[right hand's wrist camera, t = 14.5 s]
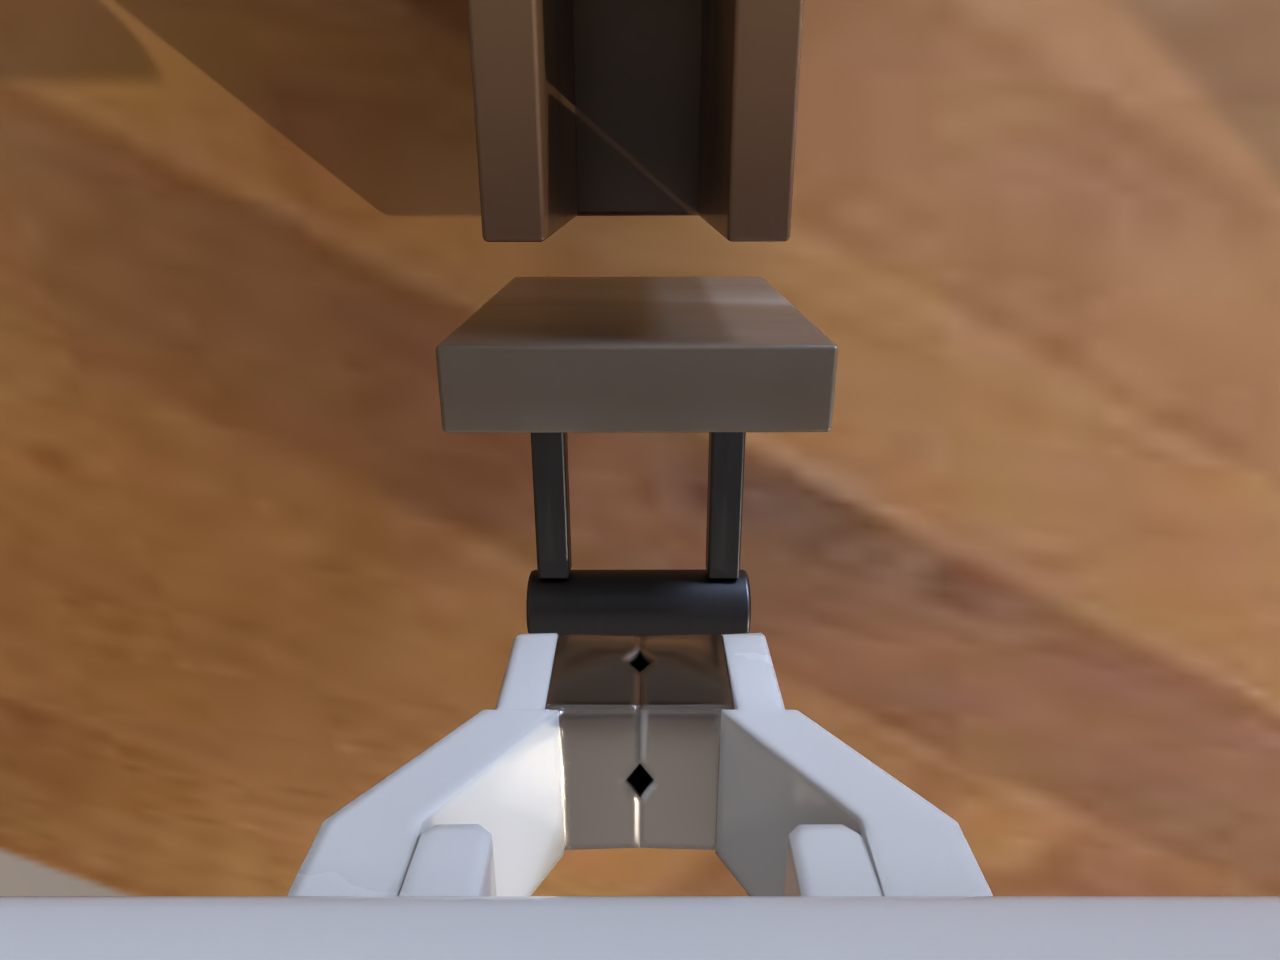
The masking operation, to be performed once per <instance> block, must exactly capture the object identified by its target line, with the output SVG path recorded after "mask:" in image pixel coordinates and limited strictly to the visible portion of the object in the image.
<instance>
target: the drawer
mask: <svg viewBox="0 0 1280 960" xmlns="http://www.w3.org/2000/svg"><path fill="white" fill-rule="evenodd" d="M803 2H804V0H467V3H468V18H469V34H470V49H471V64H472V80H473V95H474V110H475V126H476V141H477V156H478V171H479V187H480V202H481V217H482V233H483V238H484V240H485V241H487V242H542V241H544V240H545V239H547V238H548V237H549V236H551V235H552V234H553V233H554V232H556V231H557V230H558V229H560V228H561V227H562V226H564V225H565V224H566V223H567V222H569V221H570V220H571V219H573V218H574V217H575V216H638V215H699V216H701V217H702V218H703V219H704V220H705V221H706V222H708V223H709V224H710V225H711V226H712V227H714V228H715V229H716V230H717V231H718V232H719V233H721V234H722V235H723V236H724V237H725V238H726V239H728V240H729V241H787V240H789V237H790V228H791V211H792V193H793V176H794V158H795V141H796V124H797V106H798V89H799V71H800V54H801V37H802V19H803ZM837 354H838V348H837V345H836V344H834V343H833V342H832V341H831V340H830V339H829V338H828V337H827V336H826V335H825V334H824V333H822V332H821V331H820V330H819V329H818V328H817V327H816V326H815V325H814V324H813V323H812V322H810V321H809V320H808V319H807V318H806V317H805V316H804V315H803V314H802V313H801V312H800V311H798V310H797V309H796V308H795V307H794V306H793V305H792V304H791V303H790V302H789V301H788V300H786V299H785V298H784V297H783V296H782V295H781V294H780V293H779V292H778V291H777V290H776V289H774V288H773V287H772V286H771V285H770V284H769V283H768V282H767V281H766V280H765V279H764V278H762V277H516V278H514V279H513V280H511V281H510V282H509V283H508V284H507V285H506V286H505V287H504V288H502V289H501V290H500V291H499V292H498V293H497V294H496V295H494V296H493V297H492V298H491V299H490V300H489V301H488V302H487V303H485V304H484V305H483V306H482V307H481V308H480V309H479V310H478V311H476V312H475V313H474V314H473V315H472V316H471V317H470V318H468V319H467V320H466V321H465V322H464V323H463V324H462V325H461V326H459V327H458V328H457V329H456V330H455V331H454V332H453V333H452V334H450V335H449V336H448V337H447V338H446V339H445V340H444V341H442V342H441V343H440V344H439V345H438V346H437V348H436V360H437V371H438V383H439V394H440V405H441V417H442V428H443V430H444V432H447V433H531V448H532V468H533V488H534V508H535V528H536V548H537V568H538V570H534V571H532V572H531V574H530V576H529V581H528V588H527V608H526V609H527V628H528V633H529V634H534V633H557V634H558V635H560V634H596V635H640V636H663V635H704V634H744V633H749V630H750V620H751V598H750V585H749V579H748V575H747V573H746V571H744V570H740V549H741V526H742V502H743V479H744V456H745V433H746V432H828V431H830V429H831V427H832V417H833V404H834V392H835V379H836V367H837ZM606 432H709V463H708V499H707V536H706V570H571V565H572V564H571V535H570V506H569V477H568V448H567V433H606Z"/></svg>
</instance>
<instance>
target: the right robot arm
mask: <svg viewBox="0 0 1280 960" xmlns="http://www.w3.org/2000/svg"><path fill="white" fill-rule="evenodd" d="M607 848H672V849H708V850H716V854H717V855H718V857H719V858H720V859H721V860H722V862H723V863H724V864H725V865H726V867H727V868H728V869H729V870H730V872H731V873H732V874H733V876H734V877H735V878H736V879H737V881H738V882H739V883H740V884H741V886H742V887H743V888H744V889H745V891H746V892H747V893H748V894H749V896H531V895H532V894H533V893H534V891H535V890H536V889H537V888H538V886H539V885H540V884H541V883H542V881H543V880H544V879H545V878H546V876H547V875H548V874H549V873H550V871H551V870H552V869H553V868H554V866H555V865H556V864H557V862H558V861H559V860H560V859H561V857H562V856H563V855H564V850H572V849H607ZM0 960H1280V896H993V894H992V892H991V890H990V888H989V886H988V884H987V882H986V880H985V878H984V876H983V874H982V872H981V870H980V868H979V866H978V863H977V861H976V859H975V857H974V855H973V853H972V851H971V849H970V847H969V845H968V843H967V841H966V839H965V837H964V835H963V833H962V830H961V828H960V826H959V824H958V822H957V821H955V820H954V819H952V818H951V817H949V816H948V815H947V814H945V813H944V812H942V811H941V810H939V809H938V808H936V807H935V806H934V805H932V804H931V803H929V802H928V801H926V800H925V799H924V798H922V797H921V796H919V795H918V794H916V793H915V792H914V791H912V790H911V789H909V788H908V787H906V786H905V785H904V784H902V783H901V782H899V781H898V780H896V779H895V778H894V777H892V776H891V775H889V774H888V773H886V772H885V771H884V770H882V769H881V768H879V767H878V766H876V765H875V764H874V763H872V762H871V761H869V760H868V759H866V758H865V757H864V756H862V755H861V754H859V753H858V752H856V751H855V750H854V749H852V748H851V747H849V746H848V745H846V744H845V743H844V742H842V741H841V740H839V739H838V738H836V737H835V736H834V735H832V734H831V733H829V732H828V731H826V730H825V729H824V728H822V727H821V726H819V725H818V724H816V723H815V722H814V721H812V720H811V719H809V718H808V717H806V716H805V715H804V714H802V713H801V712H799V711H798V710H785V707H784V704H783V700H782V697H781V693H780V689H779V686H778V682H777V678H776V675H775V671H774V667H773V664H772V660H771V656H770V653H769V649H768V646H767V642H766V638H765V636H764V635H763V634H762V633H744V634H704V635H663V636H640V635H596V634H560V635H558V634H557V633H534V634H518V635H517V636H516V637H515V638H514V641H513V645H512V648H511V652H510V656H509V659H508V663H507V667H506V671H505V674H504V678H503V682H502V685H501V689H500V693H499V696H498V700H497V704H496V707H495V710H482V711H481V712H479V713H478V714H477V715H475V716H474V717H472V718H471V719H469V720H468V721H466V722H465V723H464V724H462V725H461V726H459V727H458V728H456V729H455V730H454V731H452V732H451V733H449V734H448V735H446V736H445V737H443V738H442V739H441V740H439V741H438V742H436V743H435V744H433V745H432V746H431V747H429V748H428V749H426V750H425V751H423V752H422V753H420V754H419V755H418V756H416V757H415V758H413V759H412V760H410V761H409V762H408V763H406V764H405V765H403V766H402V767H400V768H399V769H398V770H396V771H395V772H393V773H392V774H390V775H389V776H387V777H386V778H385V779H383V780H382V781H380V782H379V783H377V784H376V785H375V786H373V787H372V788H370V789H369V790H367V791H366V792H364V793H363V794H362V795H360V796H359V797H357V798H356V799H354V800H353V801H352V802H350V803H349V804H347V805H346V806H344V807H343V808H341V809H340V810H339V811H337V812H336V813H334V814H333V815H331V816H330V817H329V818H327V819H326V820H324V821H323V823H322V825H321V827H320V829H319V831H318V833H317V835H316V837H315V840H314V842H313V844H312V846H311V848H310V850H309V852H308V854H307V856H306V858H305V860H304V862H303V864H302V866H301V868H300V870H299V872H298V874H297V876H296V878H295V880H294V882H293V884H292V886H291V888H290V890H289V892H288V894H287V896H0Z"/></svg>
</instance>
